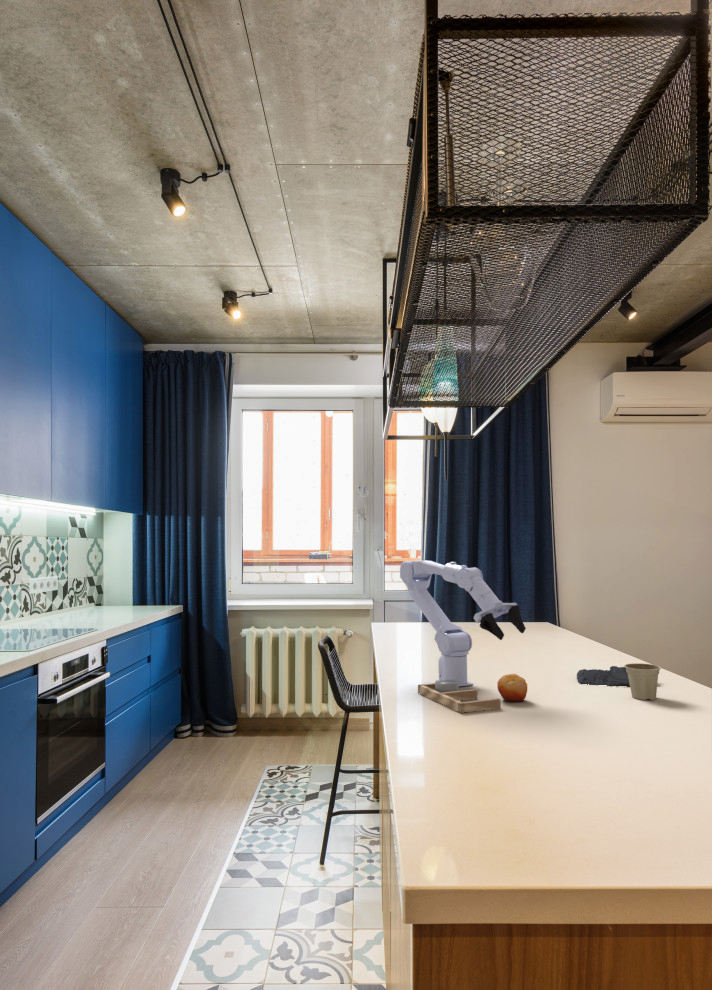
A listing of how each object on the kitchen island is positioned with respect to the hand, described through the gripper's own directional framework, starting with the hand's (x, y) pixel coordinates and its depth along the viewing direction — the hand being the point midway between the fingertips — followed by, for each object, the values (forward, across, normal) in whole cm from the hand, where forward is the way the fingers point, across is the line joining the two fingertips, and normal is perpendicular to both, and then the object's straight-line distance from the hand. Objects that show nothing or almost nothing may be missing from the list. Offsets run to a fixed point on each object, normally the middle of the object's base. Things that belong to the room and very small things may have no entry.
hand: (513, 634), depth 183 cm
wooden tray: (+6, -18, +15) cm, 24 cm away
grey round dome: (+2, -18, +19) cm, 26 cm away
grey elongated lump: (+14, +38, +22) cm, 46 cm away
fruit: (+12, -5, +12) cm, 18 cm away
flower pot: (+27, +29, +7) cm, 40 cm away
